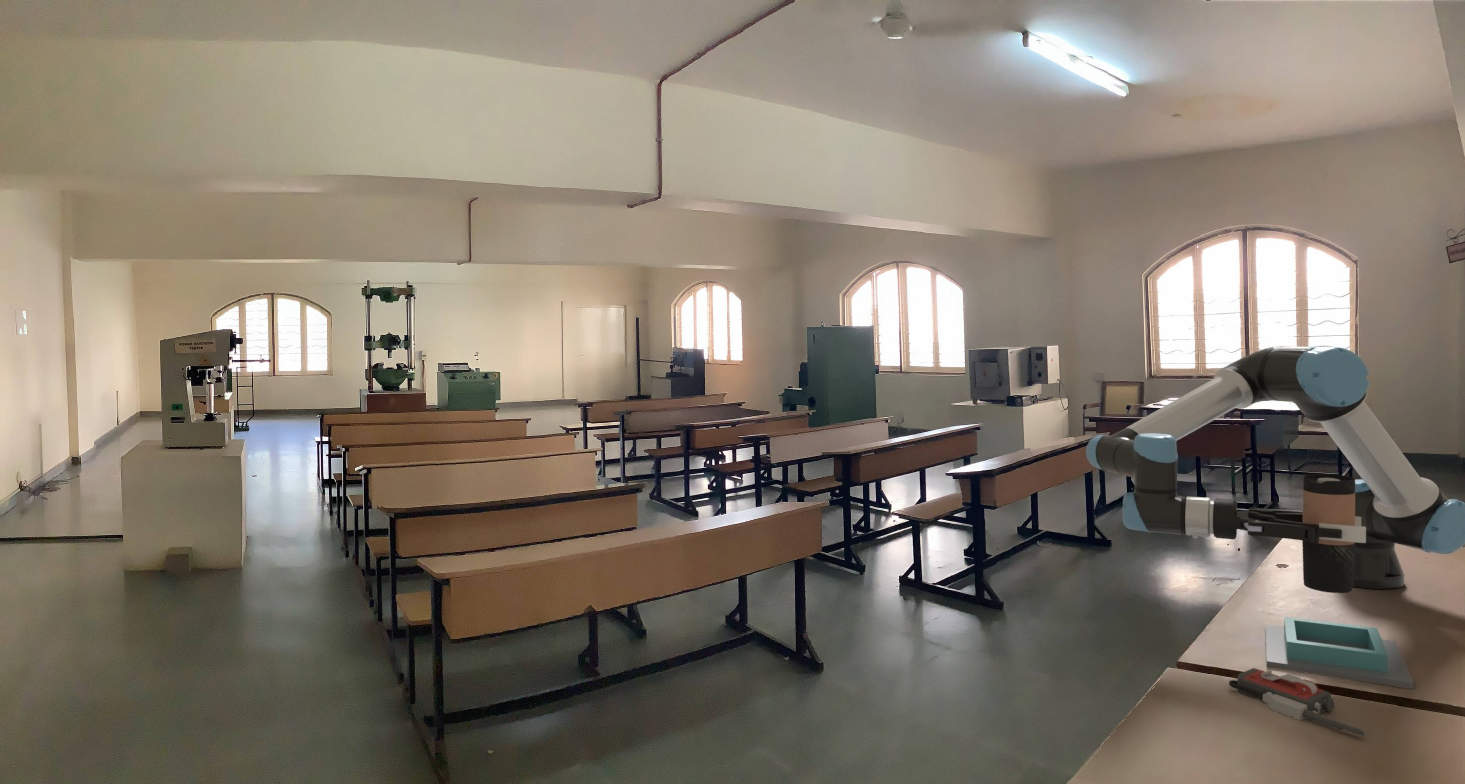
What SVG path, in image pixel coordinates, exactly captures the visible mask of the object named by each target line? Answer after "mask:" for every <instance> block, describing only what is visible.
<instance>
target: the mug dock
mask: <svg viewBox="0 0 1465 784" xmlns="http://www.w3.org/2000/svg"><path fill="white" fill-rule="evenodd" d="M1283 619H1284V621H1283V622H1284V623H1283V624H1284V625H1283V626H1279V625H1273V624H1265V625H1264V626H1265V627H1264V628H1265V629H1264V631H1265V653H1266V657H1265V658H1266V659H1265V660H1266V667H1267V668H1272V669H1279V670H1287V671H1293V672H1294V671H1295V672H1298V673H1299V672H1300V673H1306V674H1314V675H1320V676H1324V677H1325V676H1326V677H1331V678H1332V677H1333V678H1339V679H1345V680H1351V681H1360V682H1366V683H1371V684H1377V685H1378V684H1379V685H1385V686H1390V687H1391V686H1393V687H1398V688H1403V689H1411V690H1414V689H1415V688H1414V687H1415V686H1414V685H1415V684H1414V683H1415V682H1414V681H1413V677H1412V676H1411V674H1410V671H1409V670H1408V667H1407V664H1406V662H1405V659H1404V657H1403V655H1402V652H1401V651H1400V648H1399V646H1398V644H1397V641H1396V640H1388V639H1382V637H1381V633H1380V631H1379V629H1378V628H1377V627H1371V626H1365V625H1355V624H1349V623H1348V624H1347V623H1341V622H1340V623H1339V622H1330V621H1324V620H1314V619H1307V618H1299V617H1292V616H1291V617H1289V616H1284V617H1283Z"/></svg>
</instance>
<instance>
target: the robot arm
mask: <svg viewBox="0 0 1465 784" xmlns="http://www.w3.org/2000/svg"><path fill="white" fill-rule="evenodd" d="M1368 376H1369V370H1368V367H1367V365H1366V364H1365V361H1364V360H1363V359H1362V358H1361V357H1360V356H1359V355H1358V354H1357V353H1355V352H1353V351H1351V350H1350V349H1347V348H1344V347H1338V346H1331V345H1318V346H1285V345H1280V346H1279V345H1277V346H1270V347H1267V348H1263V349H1260V350H1257V351H1255V352H1252V353H1250V354H1248V355H1245V356H1243V357H1241V358H1239V359H1237V360H1235V361H1233V362H1231V363H1229V364H1228V365H1227V366H1226V365H1225V367H1222V368H1221V369H1219V370H1218V371H1216V372H1215V374H1214V377H1213V378H1212V379H1211V380H1209V381H1207V382H1205V383H1204V384H1202V385H1200V386H1198V387H1196V388H1195V389H1193V390H1191V391H1189V392H1188V393H1186V394H1184V395H1182V396H1181V397H1179V398H1177V399H1175V400H1173V401H1171V402H1169V403H1168V404H1166V405H1164V406H1163V407H1161V408H1159V409H1157V410H1155V411H1153V412H1152V413H1150V414H1148V415H1146V416H1145V417H1143V418H1141V419H1140V420H1138V421H1135V422H1134V423H1132V424H1131V425H1129V426H1127V427H1125V428H1123V429H1121V430H1119V431H1117V432H1115V433H1113V434H1112V435H1110V434H1099V435H1096V436H1094V437H1092V438H1091V439H1090V440H1089V441H1088V444H1086V445H1087V446H1086V449H1085V455H1086V460H1087V461H1088V463H1089V464H1090V465H1091V466H1092V467H1093V468H1096V469H1099V470H1102V471H1103V472H1106V473H1113V474H1117V475H1120V476H1126V477H1131V478H1133V479H1134V480H1133V481H1134V483H1133V484H1134V486H1133V488H1134V489H1133V491H1132V492H1127V493H1124V495H1123V499H1122V511H1121V512H1122V515H1121V516H1122V523H1123V525H1124V527H1126V528H1127V530H1128V529H1129V530H1132V531H1139V532H1147V533H1149V534H1151V533H1153V534H1155V533H1156V534H1157V533H1158V534H1169V535H1171V534H1172V535H1182V536H1192V539H1195V540H1197V539H1198V538H1199V537H1202V538H1203V537H1205V538H1209V537H1210V536H1211V535H1213V537H1214V538H1216V539H1220V540H1221V539H1223V540H1235V539H1237V533H1238V530H1240V531H1247V534H1248V536H1256V537H1257V536H1259V537H1260V536H1261V537H1268V538H1269V537H1270V538H1279V539H1286V540H1287V539H1288V540H1295V541H1296V540H1297V541H1302V540H1304V541H1309V542H1313V543H1314V544H1318V543H1319V539H1323V540H1335V541H1346V542H1355V553H1354V572H1353V587H1355V588H1363V589H1372V590H1373V589H1376V590H1377V589H1378V590H1389V589H1390V590H1391V589H1392V590H1393V589H1398V588H1402V587H1403V586H1405V573H1404V570H1403V568H1402V566H1401V565H1402V564H1401V563H1400V560H1399V558H1398V555H1397V553H1396V549H1395V548H1396V547H1395V546H1396V545H1395V544H1397V545H1400V546H1404V547H1408V548H1413V549H1415V550H1419V551H1424V552H1425V553H1429V554H1431V553H1434V554H1439V555H1449V554H1453V553H1455V552H1457V551H1459V549H1461V548H1462V547H1463V546H1464V545H1465V502H1463V501H1461V500H1459V499H1456V498H1448V497H1446V496H1445V495H1444V493H1443V492H1442V491H1441V489H1440V487H1439V486H1438V485H1437V484H1436V483H1435V481H1432V480H1431V479H1428V478H1426V477H1421V476H1419V474H1418V472H1417V471H1416V469H1415V468H1414V467H1413V465H1412V464H1411V463H1410V461H1409V460H1408V458H1407V457H1406V456H1405V454H1404V453H1403V452H1402V450H1401V449H1400V447H1399V446H1398V445H1397V444H1396V442H1395V441H1394V439H1392V437H1391V435H1390V433H1388V432H1387V430H1386V429H1385V428H1384V426H1383V424H1382V423H1381V422H1380V420H1379V419H1378V418H1377V417H1376V415H1375V413H1374V412H1373V411H1372V410H1371V408H1370V406H1368V405H1367V403H1366V402H1365V401H1366V399H1367V398H1368V397H1367V396H1368V389H1369V385H1370V384H1369V383H1370V380H1369V379H1368V378H1367V377H1368ZM1269 401H1277V402H1288V403H1294V404H1295V405H1296V406H1297V408H1298V409H1299V410H1300V412H1301V413H1302V415H1303V416H1304V417H1305V418H1306V420H1308V421H1311V422H1315V423H1320V424H1321V426H1322V427H1323V429H1324V430H1325V431H1326V433H1327V434H1328V435H1329V437H1330V438H1331V439H1332V440H1333V442H1334V443H1335V444H1336V446H1337V447H1338V449H1339V450H1340V451H1341V452H1342V454H1343V455H1344V456H1345V458H1346V459H1347V460H1348V462H1349V463H1350V465H1351V466H1352V467H1353V469H1354V470H1355V471H1356V473H1357V474H1358V476H1360V478H1361V479H1355V526H1350V525H1337V524H1324V523H1319V525H1316V524H1308V523H1303V510H1299V509H1297V510H1296V509H1295V510H1294V509H1277V508H1275V509H1273V508H1259V507H1254V506H1251V507H1249V508H1248V510H1238V502H1237V501H1236V500H1235V499H1231V498H1230V499H1229V498H1228V499H1227V498H1215V499H1214V500H1212V499H1211V498H1210V497H1203V496H1185V495H1183V496H1182V495H1178V460H1179V455H1178V454H1179V453H1178V449H1177V447H1178V446H1177V441H1178V440H1181V439H1182V438H1184V437H1186V436H1188V435H1189V434H1191V433H1193V432H1195V431H1197V430H1199V429H1201V428H1202V427H1204V426H1205V425H1207V424H1210V423H1212V422H1214V421H1215V420H1216V419H1218V418H1220V417H1222V416H1224V415H1226V414H1227V413H1229V412H1230V411H1233V410H1234V409H1246V408H1248V407H1250V406H1252V405H1253V404H1256V403H1260V402H1269Z"/></svg>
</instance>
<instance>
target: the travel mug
mask: <svg viewBox="0 0 1465 784" xmlns="http://www.w3.org/2000/svg"><path fill="white" fill-rule="evenodd" d="M1302 480H1303V482H1302V483H1303V484H1302V485H1303V486H1302V488H1303V489H1302V491H1303V492H1302V511H1303V523H1308V524H1316V525H1319V523H1324V524H1337V525H1350V526H1355V480H1356V479H1355V478H1354V477H1351V476H1348V475H1343V474H1333V473H1332V474H1331V473H1310V474H1305V475H1303V479H1302ZM1301 543H1302V568H1303V569H1302V575H1303V585H1304V586H1305V587H1307V588H1308V589H1311V590H1313V591H1319V592H1323V593H1331V594H1347V593H1351V592H1352V591H1353V587H1354V586H1353V572H1354V553H1355V542H1346V541H1335V540H1323V539H1319V543H1318V544H1314V543H1313V542H1309V541H1304V540H1301Z"/></svg>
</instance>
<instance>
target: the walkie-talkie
mask: <svg viewBox="0 0 1465 784" xmlns="http://www.w3.org/2000/svg"><path fill="white" fill-rule="evenodd" d="M1236 677H1237V680H1234V679H1231V680H1229V681H1228V682H1229V683H1228V685H1229V687H1231V688H1233V689H1236V690H1237V692H1238V693H1239V694H1242V695H1244V696H1248V697H1250V698H1253V699H1255V700H1259V701H1262V702H1264V703H1266V705H1267V706H1268V707H1269V708H1270V709H1271V710H1272V711H1274V712H1277V713H1279V714H1282V715H1285V716H1288V717H1291V718H1293V719H1295V720H1298V721H1303V720H1304V719H1305V720H1306V719H1307V720H1309V721H1315V722H1318V723H1320V724H1323V725H1326V726H1328V727H1332V728H1335V729H1338V730H1340V731H1341V730H1346V731H1348V732H1350V733H1351V732H1352V733H1353V734H1357V735H1360V736H1363V737H1364V736H1365V732H1364V730H1363V729H1361V728H1357V727H1356V726H1352V725H1349V724H1346V723H1344V722H1340V721H1337V720H1335V719H1331V718H1329V717H1326V716H1323V715H1322V714H1321V713H1324V712H1325V711H1326V712H1329V713H1330V712H1331V711H1333V710H1334V707H1335V701H1334V699H1333V698H1332V693H1331V692H1329V691H1326V690H1323V689H1321V688H1319V687H1318V685H1317V684H1316V683H1315V682H1313V681H1311V680H1308V679H1305V678H1301V677H1299V676H1296V675H1292V674H1289V673H1288V674H1287V673H1286V674H1284V675H1277V674H1275V673H1273V671H1272V670H1270V669H1268V670H1261V669H1257V668H1255V667H1253V668H1250V669H1248V670H1245V671H1243V672H1241V673H1238V675H1237V676H1236Z"/></svg>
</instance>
